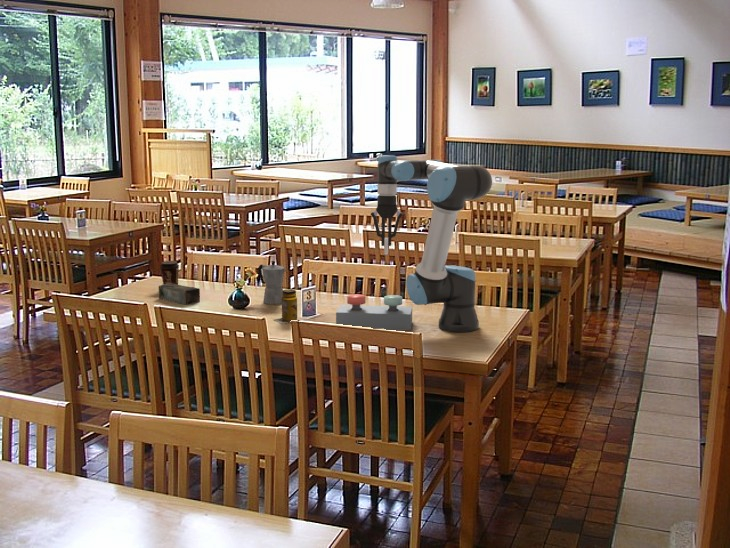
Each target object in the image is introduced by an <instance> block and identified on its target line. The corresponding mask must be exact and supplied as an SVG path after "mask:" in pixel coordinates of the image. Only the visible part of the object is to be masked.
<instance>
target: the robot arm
mask: <svg viewBox="0 0 730 548" xmlns="http://www.w3.org/2000/svg"><path fill="white" fill-rule="evenodd" d="M416 180H417V181H418V180H421V181H423V180H426V181H427V184H426V189H427V191H426V192H427V197H428V198H429V200H430V203H431V205H432V206H433V209H432V214H431V218H430V222H429V227H428V232H427V236H426V240H425V245H424V249H423V253H422V257H421V261H420V263H417V264H416V267H415V270H414V273H413V272H412V273H409V274H408V275H407V276H406V279H405V285H406V287H405V288H406V291H407V295H408V297H409V299H410V301H411V302H412V303H414V305H416V306H417V305H418V306H420V305H421V306H427V305H430V304H432V305H433V304H441V303H443V307H442V311H441V313H440V318H439V319H438V328H439V329H441V330H443V331H446V332H447V331H448V332H453V333H454V332H455V333H469V332H474V331H477V330H478V329H479V327H480V324H479V323H480V322H479V319H478V318H479V317H478V314H477V311H476V308H475V303H476V301H475V300H476V272H475V270H474V269H472V268H469V267H466V266H459V265H451V264H450V265H446V263H447V260H448V259H447V258H448V255H449V251H450V247H451V242H452V239H453V235H454V231H455V226H456V222H457V218H458V214H459V212H460V211H461V212H462V211H463V210H464V207H465V203H466V201H473V200H478V199H481V198H483V197H485V196H487V195H488V193H489V192H490V190H491V188H492V186H493V177H492V174H491V173H490V171H489V170H488V169H487V168H486V167H483V166H480V165H463V166H461V165H457V164H453V163H447V162H443V161H442V160H440V159H421V160H419V159H418V160H412V159H411V160H398V158H397V156H396V155H379V156H378V160H377V194H378V195H377V207H376V209H375V210H374V211H371V213H370V216H371V217H372V219H373V223H374V224H373V225H374V227H375V232H376V236H377V237H380V238H381V246H382V247H384V248H383V249H384V251H383V252H384V253H383V255H389V247H391V246H392V239H393V238H394V237H396V235H397V232H398V228H399V224H400V220H401V218H403V217H402V216H403V212H401V211H399V210H398V207H397V196H396V195H397V192H398V191H397V189H398V187H397V185H398V182H397V181H399V182H407V181H416ZM378 215H379V217H380V218H381V231H380V226H379V222H378V218H377V216H378ZM395 215H396V219H395V220H396V221H395V225H394V227H393V230H392V219H393V217H394V216H395ZM386 219H387V223H388V224H387V227H388V228H387V237H386ZM392 231H393V233H392Z"/></svg>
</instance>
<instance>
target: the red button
mask: <svg viewBox="0 0 730 548" xmlns="http://www.w3.org/2000/svg"><path fill="white" fill-rule="evenodd" d="M366 302H367V301H366V295H364V294H357V293H356V294H355V293H354V294H348V295H347V296H346V303H347V305H352V310H360V305H362V306H363V305H365V304H366Z"/></svg>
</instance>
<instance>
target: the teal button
mask: <svg viewBox="0 0 730 548" xmlns="http://www.w3.org/2000/svg"><path fill="white" fill-rule="evenodd" d="M383 304H384V306H389V311H397V306H401V305H403V296H401V295H397V294H389V295H385V296H384V297H383Z"/></svg>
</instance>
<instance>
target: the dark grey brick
mask: <svg viewBox="0 0 730 548" xmlns="http://www.w3.org/2000/svg"><path fill="white" fill-rule="evenodd" d="M158 299H160V300H163V299H164V300H163V301H167V300H168V302H172V301H173V303H177V304H182V305H191V304H195V303H200V302H201V300H200V299H201V291H200V288H198V287H194V286H187V285H181V284H178V285H177V284H173V283H172V284H163V283H162V284H161V285H158Z"/></svg>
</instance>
